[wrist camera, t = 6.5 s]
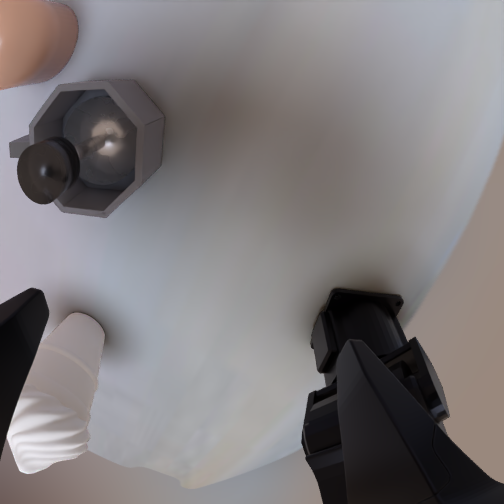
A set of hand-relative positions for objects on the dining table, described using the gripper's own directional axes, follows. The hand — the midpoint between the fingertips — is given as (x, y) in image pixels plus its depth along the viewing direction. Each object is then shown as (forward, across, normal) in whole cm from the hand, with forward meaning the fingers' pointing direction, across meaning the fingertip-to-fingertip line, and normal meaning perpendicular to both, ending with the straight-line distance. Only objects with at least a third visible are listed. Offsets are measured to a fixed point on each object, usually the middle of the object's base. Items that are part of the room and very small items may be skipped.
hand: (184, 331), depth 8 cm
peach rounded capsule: (+13, +14, -9) cm, 21 cm away
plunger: (+12, +8, -2) cm, 14 cm away
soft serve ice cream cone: (+13, +12, +16) cm, 24 cm away
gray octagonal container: (+12, +9, -2) cm, 16 cm away
